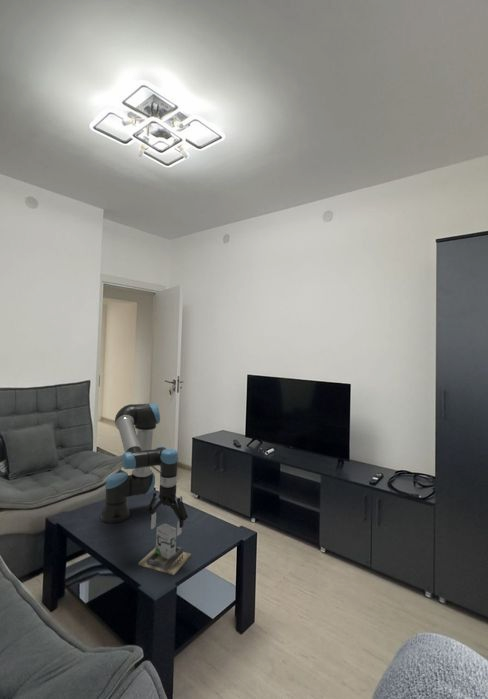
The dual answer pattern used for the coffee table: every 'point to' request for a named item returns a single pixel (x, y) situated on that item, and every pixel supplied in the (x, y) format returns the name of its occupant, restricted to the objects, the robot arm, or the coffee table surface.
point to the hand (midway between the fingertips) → (166, 530)
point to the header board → (165, 561)
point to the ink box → (166, 541)
